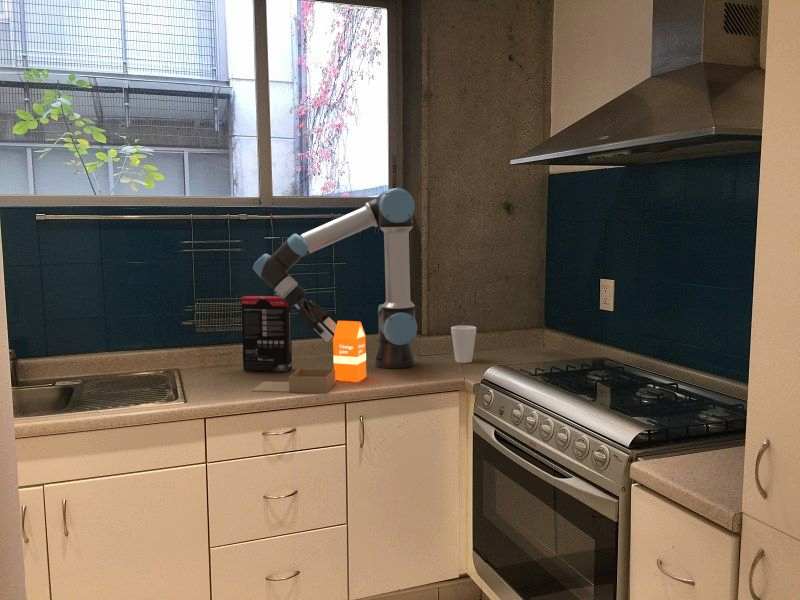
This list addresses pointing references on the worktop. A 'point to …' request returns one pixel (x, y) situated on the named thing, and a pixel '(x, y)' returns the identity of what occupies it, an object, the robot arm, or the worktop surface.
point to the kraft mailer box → (303, 382)
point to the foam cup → (463, 342)
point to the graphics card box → (266, 334)
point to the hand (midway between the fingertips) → (334, 336)
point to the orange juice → (349, 351)
